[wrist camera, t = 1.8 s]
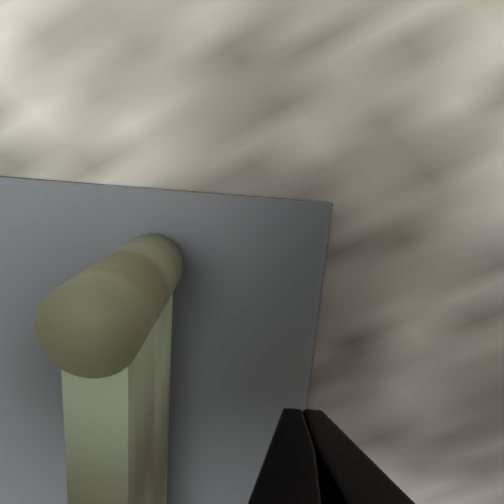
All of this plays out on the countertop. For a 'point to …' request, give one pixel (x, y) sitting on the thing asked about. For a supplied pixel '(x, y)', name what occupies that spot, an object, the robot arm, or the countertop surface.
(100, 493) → the folding panel
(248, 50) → the countertop surface
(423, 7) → the countertop surface
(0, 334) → the card
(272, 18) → the countertop surface
